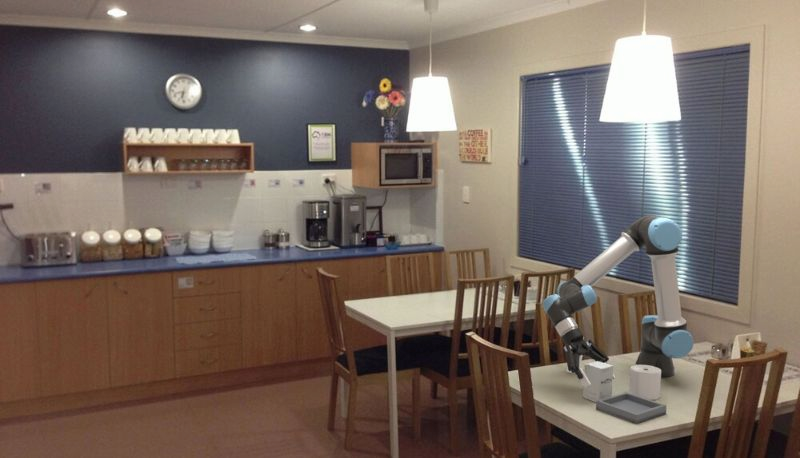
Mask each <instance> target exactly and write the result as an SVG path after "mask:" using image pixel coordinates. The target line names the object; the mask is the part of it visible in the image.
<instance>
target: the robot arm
mask: <svg viewBox="0 0 800 458" xmlns="http://www.w3.org/2000/svg"><path fill="white" fill-rule="evenodd" d="M682 238H683V233H682V230H681V226H680V225H679V224H677V222H675V221H674V220H672V219H670V218H668V217H664V216H663V217H662V216H656V215H654V214H653V215H645V216H642V217H641V218H639V219H637V220H635V221H634V222H633V223H631V224H630V225H629V226H628V227H627V228H626V229H625V230H623V231H622V232H621V235H620V237H619V238H618V239H617V240H616V241H614V242H613V243H612V244H610V245H609V246H608V247H607V248H606V249H605V250H603V252H601V253H600V254H599V255H597V256H596V257H595V258H594V259H593V260H591V261H590V262H589V263H588V264H587V265H585V267H584V268H582V269H581V270H580V271H579V272H578V273H576V274H575V275H574V276H573V277H571V278H570V279H568V281H567V280H566V281H562V282H560V283H559V284H558V286H557V289H556V292H557V293H555V294H551V295H549V296H547V297H546V298H545V299H543V300H542V303H541V306H542V307H543V310H544V311H545V313H546V315H547V316H548V318H549V320H550V321H551V323H552V325H553V327H554V329H556V332H557V333H558V334H559V336H560V337H561V341H562V342H563V343H564V345H565V346H564V347H563V348H562V351H563V352H564V355H565V359H566V360H565V361H566V367H567V366H568V370H569V371H571V372H572V373H574V372H575V374H574V375H576V377H577V379H578V380H579V381H580V382H581V384H582V386H583V388H584V387H585V388H587V387H588V386H589V385H591V383H590V381H589V380H588V378H587V377H586V375H585V373H584V369H583V368H582V367H581V368H580V369H579V358H580V356H581V355H583V356H586V357H589V358H591V359H592V360H593V361H594V362H596V361H599V362H602V363H606V364H608V361H609V360H610V358H609V356H607V355H606V354H605V353H604V352H603V350H601V349H600V348H599V347H597V346H596V345H595V344H594V342H593V341H592V340H591V339H589V340H587V341H585V335H584V334H583V332H582V330H581V329H580V328H579V325H578V324H577V322H576V321H575V319H574V318H573V316H572V315H574V314H575V313H578V312H581V311H582V310H584V309H587V308H588V307H591V306H592V305H593V304H595V303H597V301H598V298H597V294H596V292H595V291H594V289H593V286H595V285H596V284H597V283H598V282H599V281H601V280H602V279H603V278H604V277H605V276H606V275H607V274H610V272H611V271H612V270H613V269H615V268H616V267H617V266H618V265H619V264H621V263H623V261H624V260H625V259H627V258H628V257H629V256H630V255H631V254H633V253H634V252H640V250H641V249H643V248H644V247H645V255H646V256H648V257H649V258H650V261H651V271H652V277H653V279H652V281H653V286H654V287H653V289H654V296H655V297H654V298H655V304H656V311H657V313H656V314H654V315H653V314H652V315H648V314H647V315H644V316H643V317H642V320H641V337H640V352H639V354H638V356H637V359H636V362H635V364H634V365H649V366H654V367H657V368H659V369H661V378H668V377H673V376H674V375H675V372H676V371H675V365H674V362H673V359H678V360H679V359H682V358H685V357H686V356H688V355H689V354H690V353H691V351H692V350H693V348H694V344H695V343H694V342H695V341H694V338H693V335H692V333H690V332H689V331H688V326H687V325H688V324H687V323H688V322H687V320H686V319H685V318H684V317H682V309H681V308H682V307H681V301H680V291H679V290H680V289H679V282H678V272H677V265H676V255H677V254H678V253H679V245H680V243H681V241H682ZM583 338H584V339H583ZM615 379H616V375H615V374H614V373H613V380H615Z"/></svg>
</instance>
